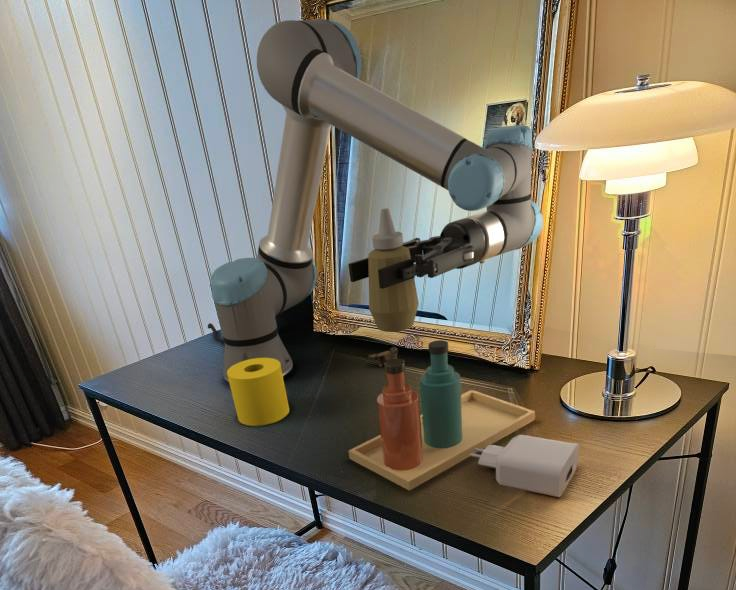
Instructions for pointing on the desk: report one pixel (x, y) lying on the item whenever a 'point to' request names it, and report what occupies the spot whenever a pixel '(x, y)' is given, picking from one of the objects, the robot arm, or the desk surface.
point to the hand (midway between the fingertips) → (365, 276)
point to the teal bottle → (441, 400)
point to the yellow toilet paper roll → (258, 391)
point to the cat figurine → (384, 356)
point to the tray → (479, 429)
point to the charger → (532, 464)
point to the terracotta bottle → (399, 420)
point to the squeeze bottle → (397, 301)
